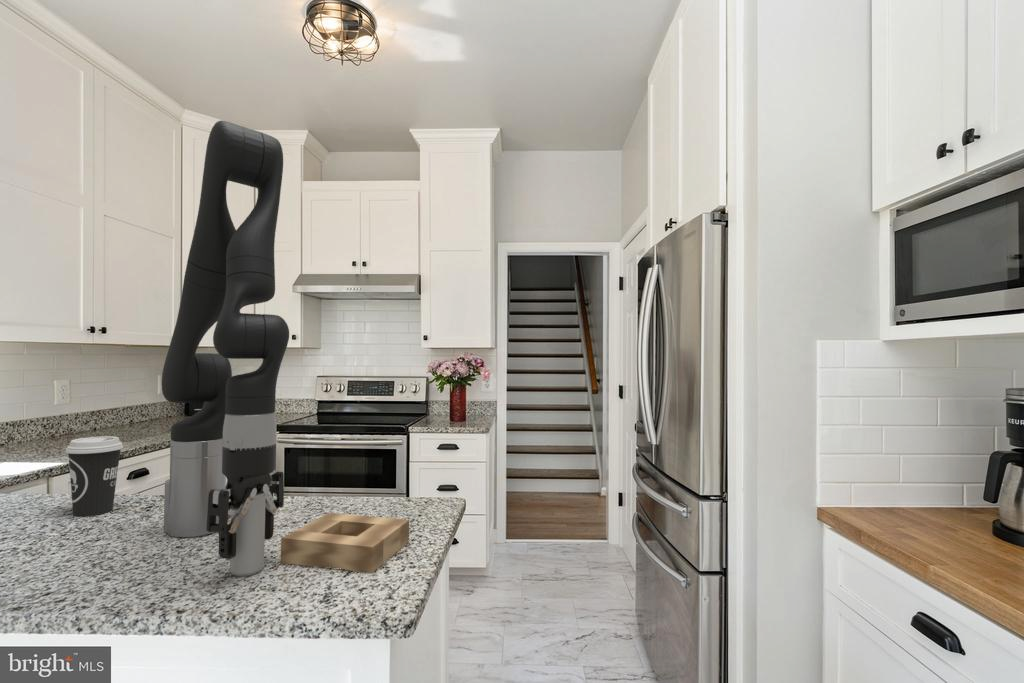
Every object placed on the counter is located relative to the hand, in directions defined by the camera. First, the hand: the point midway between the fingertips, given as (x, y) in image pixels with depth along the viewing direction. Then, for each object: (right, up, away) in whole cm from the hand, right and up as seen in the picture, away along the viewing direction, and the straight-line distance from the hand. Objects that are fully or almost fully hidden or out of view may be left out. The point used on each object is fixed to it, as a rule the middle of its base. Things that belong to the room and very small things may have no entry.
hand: (247, 547), depth 83 cm
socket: (+13, -4, +8) cm, 16 cm away
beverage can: (0, -4, 0) cm, 4 cm away
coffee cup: (-46, -4, +29) cm, 54 cm away
